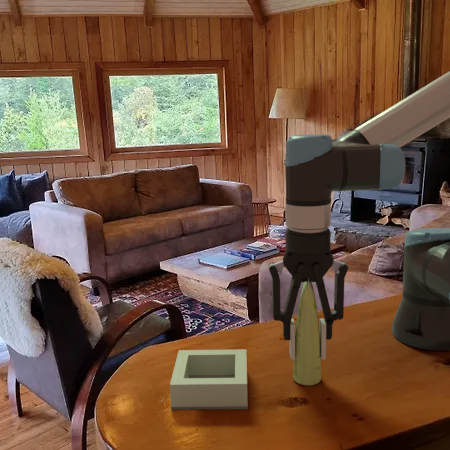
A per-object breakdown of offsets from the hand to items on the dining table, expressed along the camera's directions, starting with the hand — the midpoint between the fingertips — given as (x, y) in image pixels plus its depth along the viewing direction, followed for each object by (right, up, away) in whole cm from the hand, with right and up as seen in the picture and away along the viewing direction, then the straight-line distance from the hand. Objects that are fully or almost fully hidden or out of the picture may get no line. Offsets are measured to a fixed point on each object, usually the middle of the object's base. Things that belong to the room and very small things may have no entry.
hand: (307, 355), depth 93 cm
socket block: (-17, -6, -1) cm, 18 cm away
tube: (0, -5, +1) cm, 5 cm away
